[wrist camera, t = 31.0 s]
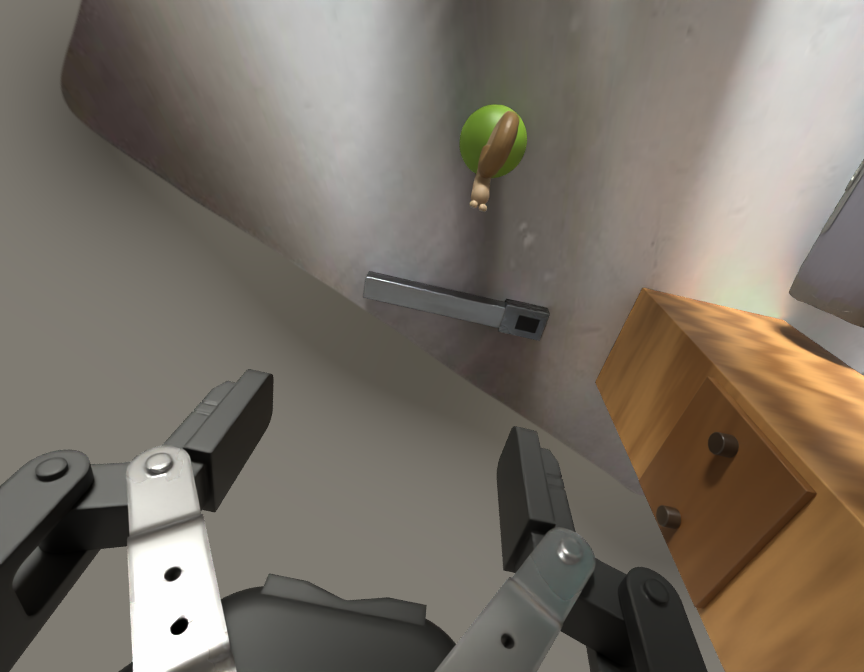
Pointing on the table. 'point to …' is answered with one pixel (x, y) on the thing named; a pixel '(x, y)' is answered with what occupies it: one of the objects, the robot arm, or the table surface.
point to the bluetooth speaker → (838, 260)
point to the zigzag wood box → (749, 476)
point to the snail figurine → (491, 147)
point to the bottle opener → (459, 305)
